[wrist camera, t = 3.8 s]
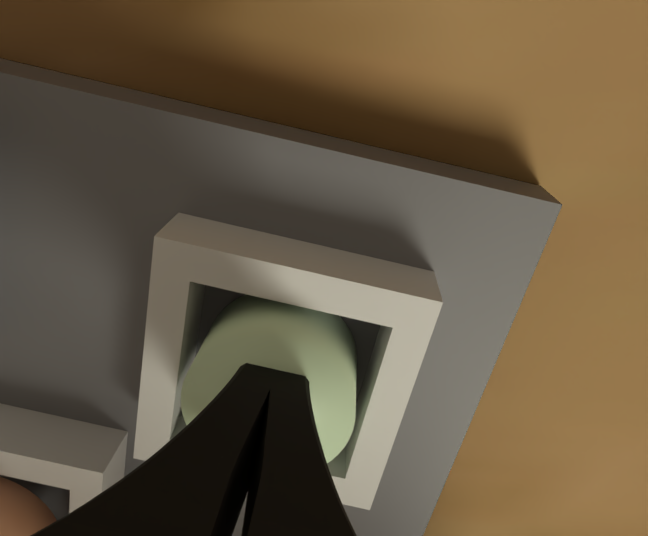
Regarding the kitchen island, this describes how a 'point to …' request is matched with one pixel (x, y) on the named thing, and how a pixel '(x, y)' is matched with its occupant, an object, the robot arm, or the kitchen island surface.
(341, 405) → the sage button
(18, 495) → the terracotta button
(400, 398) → the button panel
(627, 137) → the kitchen island surface
